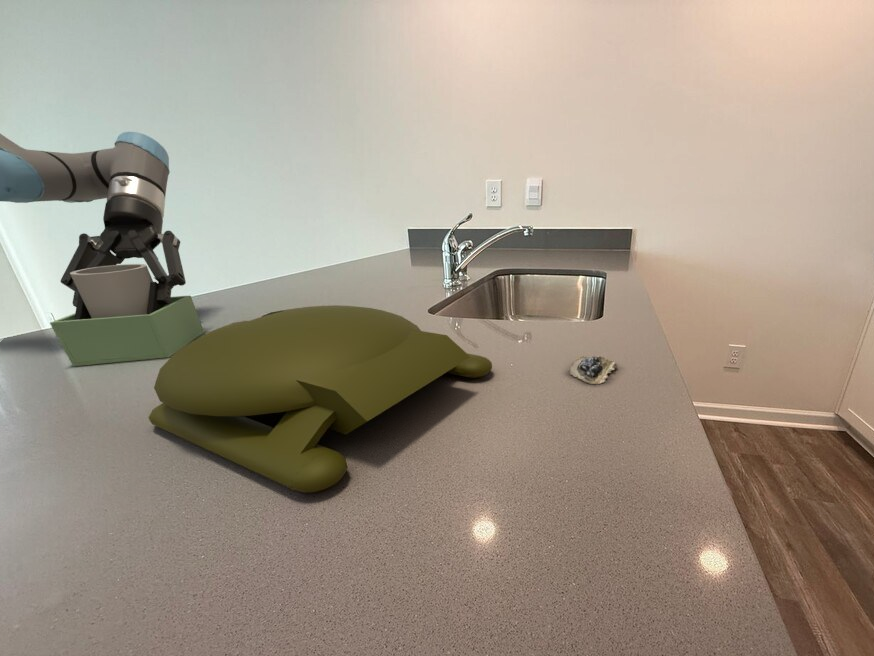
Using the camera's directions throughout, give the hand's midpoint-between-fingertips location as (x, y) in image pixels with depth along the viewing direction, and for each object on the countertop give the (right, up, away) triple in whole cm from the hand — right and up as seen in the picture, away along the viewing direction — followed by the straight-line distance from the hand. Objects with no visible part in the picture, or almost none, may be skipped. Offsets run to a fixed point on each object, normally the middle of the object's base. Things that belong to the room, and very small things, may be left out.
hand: (119, 323), depth 65 cm
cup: (-1, -2, +5) cm, 5 cm away
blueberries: (+75, -8, -8) cm, 76 cm away
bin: (0, -3, +5) cm, 6 cm away
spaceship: (+39, -11, -12) cm, 42 cm away
